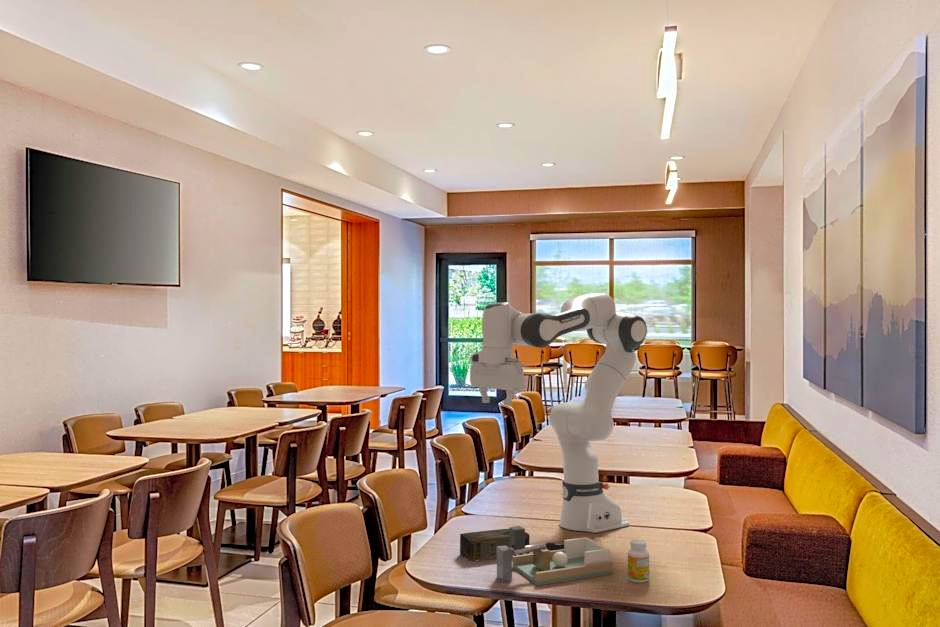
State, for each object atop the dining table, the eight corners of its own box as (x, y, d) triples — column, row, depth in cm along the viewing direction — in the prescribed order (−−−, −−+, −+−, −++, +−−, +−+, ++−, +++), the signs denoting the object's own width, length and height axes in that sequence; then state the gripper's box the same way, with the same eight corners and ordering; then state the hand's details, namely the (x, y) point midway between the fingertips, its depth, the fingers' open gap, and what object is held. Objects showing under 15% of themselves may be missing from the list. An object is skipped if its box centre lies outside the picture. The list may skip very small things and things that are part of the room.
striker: (539, 563, 207) (539, 521, 206) (550, 570, 201) (549, 527, 201) (505, 568, 203) (505, 525, 203) (515, 576, 197) (514, 531, 197)
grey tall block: (505, 575, 202) (505, 545, 202) (512, 580, 198) (511, 549, 198) (496, 577, 201) (496, 546, 201) (503, 582, 197) (502, 550, 197)
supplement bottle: (625, 576, 201) (625, 538, 201) (645, 575, 201) (645, 538, 201) (631, 583, 196) (631, 545, 195) (652, 582, 196) (651, 544, 196)
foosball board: (584, 556, 217) (583, 535, 217) (612, 573, 203) (612, 551, 203) (512, 567, 209) (512, 545, 209) (537, 585, 195) (537, 561, 195)
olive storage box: (531, 554, 220) (530, 531, 220) (468, 563, 213) (468, 540, 213) (519, 546, 227) (518, 524, 227) (458, 555, 220) (457, 532, 220)
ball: (563, 563, 208) (563, 548, 208) (570, 568, 204) (570, 553, 204) (550, 565, 207) (549, 550, 206) (557, 570, 203) (556, 555, 203)
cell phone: (571, 547, 227) (571, 544, 227) (558, 561, 214) (558, 559, 214) (547, 544, 230) (547, 541, 230) (533, 558, 217) (533, 556, 217)
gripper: (529, 358, 222) (529, 406, 222) (482, 355, 237) (482, 400, 237) (513, 359, 218) (513, 408, 218) (466, 356, 233) (466, 401, 233)
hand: (496, 404), depth 228 cm, fingers open, 8 cm apart
